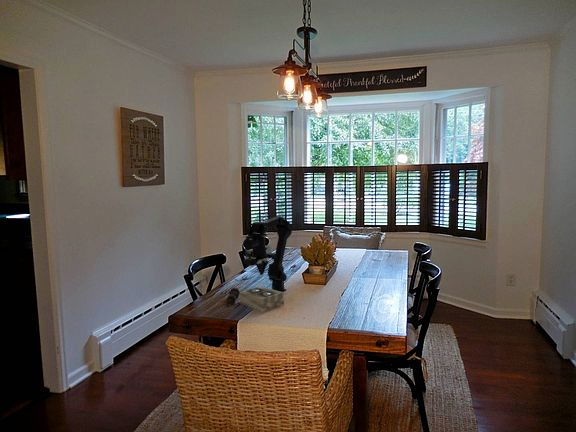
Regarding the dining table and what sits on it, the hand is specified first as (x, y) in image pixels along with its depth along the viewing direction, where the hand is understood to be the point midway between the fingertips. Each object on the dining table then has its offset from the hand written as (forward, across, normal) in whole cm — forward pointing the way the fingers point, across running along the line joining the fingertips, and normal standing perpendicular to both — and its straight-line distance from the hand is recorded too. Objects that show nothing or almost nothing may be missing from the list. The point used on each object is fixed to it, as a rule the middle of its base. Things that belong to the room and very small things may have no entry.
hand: (261, 274), depth 221 cm
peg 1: (+12, +7, +2) cm, 14 cm away
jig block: (+13, +7, +6) cm, 16 cm away
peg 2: (+12, +7, +11) cm, 18 cm away
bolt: (+13, +13, -10) cm, 21 cm away
